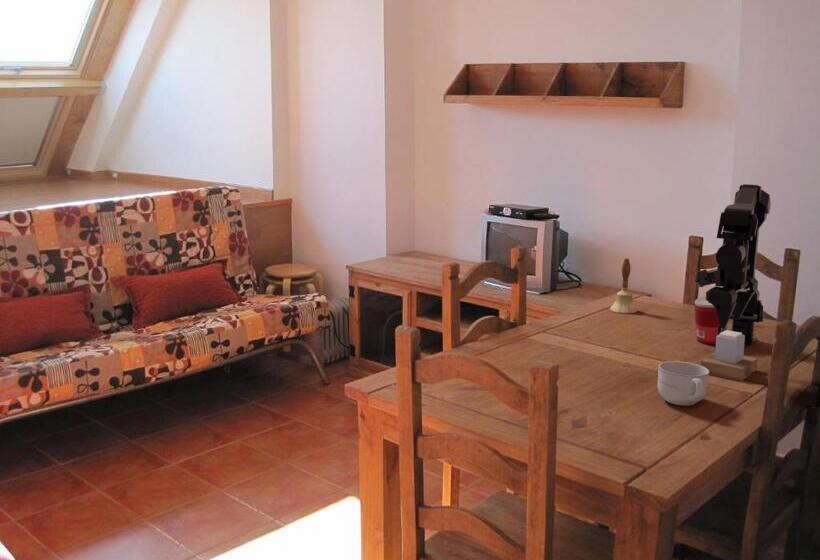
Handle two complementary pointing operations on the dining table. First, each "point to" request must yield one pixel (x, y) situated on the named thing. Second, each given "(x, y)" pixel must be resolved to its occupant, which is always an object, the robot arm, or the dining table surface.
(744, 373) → the wooden block
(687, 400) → the teacup
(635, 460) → the dining table surface
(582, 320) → the dining table surface
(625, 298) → the hand bell
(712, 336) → the canned food
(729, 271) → the robot arm
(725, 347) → the white cube
